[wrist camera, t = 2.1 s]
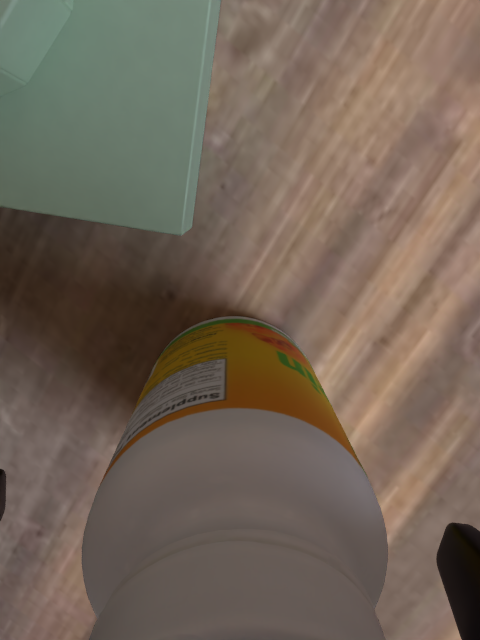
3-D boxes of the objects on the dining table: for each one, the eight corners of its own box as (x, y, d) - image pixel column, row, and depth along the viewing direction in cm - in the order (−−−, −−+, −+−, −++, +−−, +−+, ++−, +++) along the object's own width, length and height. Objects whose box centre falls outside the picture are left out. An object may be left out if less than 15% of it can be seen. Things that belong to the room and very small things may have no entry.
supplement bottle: (341, 416, 14) (550, 812, 5) (205, 487, 15) (169, 957, 6) (263, 280, 13) (353, 480, 4) (117, 364, 14) (-117, 715, 4)
